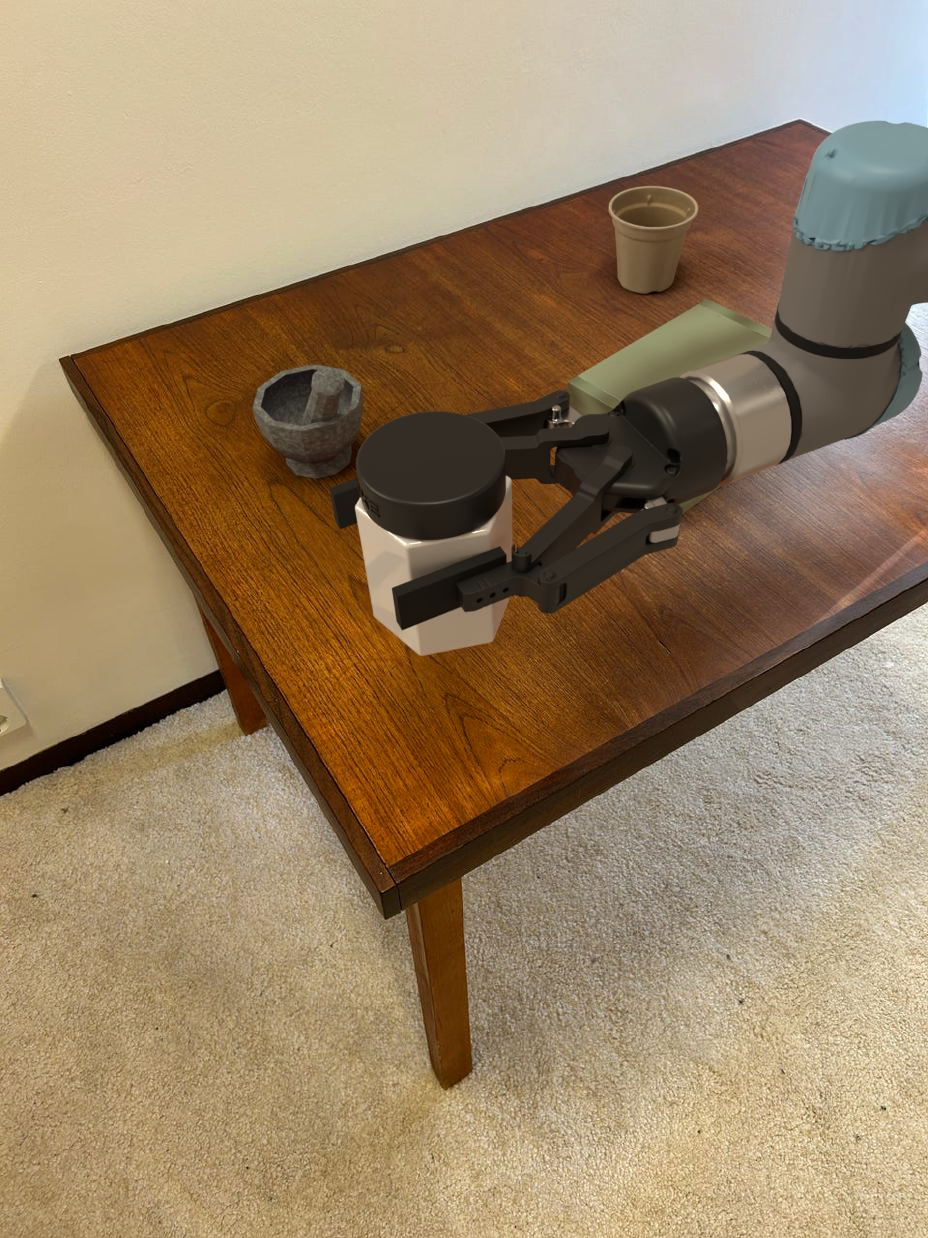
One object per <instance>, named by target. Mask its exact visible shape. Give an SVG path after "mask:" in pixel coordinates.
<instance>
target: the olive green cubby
mask: <svg viewBox="0 0 928 1238" xmlns="http://www.w3.org/2000/svg"><path fill="white" fill-rule="evenodd" d="M771 332H772V328H770V327H768V326H766V325H763V324H761V323H759V322H757V321H755V320H753V319H751V318H749V317H747V316H745V315H742V314H740V313H738V312H736V311H734V310H732V309H729V308H728V307H725V306H723V305H722V304H719V303H718V302H715V301H713V300H711V299H708V298H706V299H704V300H702V301H700V302H699V303H698V304H695V306H692V307H691V308H689V309H687V310H686V311H684V312H682V313H681V314H679V315H678V316H675V317H674V318H672V319H671V320H669V321H666V323H664V324H662V325H660V326H659V327H657V328H655V329H653V330H652V331H651V332H649V333H647V334H646V335H643V336H642V337H640V338H638V339H637V340H635V341H634V342H631V343H630V344H629V345H626V346H625V347H623V348H621V349H620V350H618V351H617V352H614V353H613V354H612V355H610V356H608V357H607V358H605V359H603V360H602V361H600V362H598V363H596V364H594V365H592V366H591V367H589V368H588V369H586V370H585V371H583V372H581V373H580V374H578V375H576V376H574V377H572V378H571V379H569V380H568V381H567V388H566V389H567V390H566V392H568V393H569V394H570V406H571V407H572V408H573V409H575V410H576V411H577V412H579V413H580V414H581V415H587V414H602V413H608V412H610V411H612V410H613V409H614V408H615V407H616V406H617V405H618V404H619V403H620V402H621V401H622V400H623V399H624V397H625V396H627V395H628V394H629V393H631V392H633V391H636V390H639V389H642V388H644V387H647V386H650V385H653V384H656V383H659V382H661V381H664V380H667V379H670V378H674V377H680V376H681V375H682V374H684V373H686V372H688V371H690V370H693V369H697V368H700V367H703V366H706V365H709V364H712V363H715V362H718V361H721V360H724V359H727V358H730V357H733V356H735V355H738V354H741V353H744V352H746V351H749V350H751V349H754V348H756V347H759V346H761V345H764V344H766V343H768V341H769V340H770V336H771ZM721 487H722V486H717V487H716V488H715V489H714V490H713V491H711V492H709V493H706V494H704V495H701V496H698V497H696V498H693V499H691V500H688V501H686V502H683V503H681V504H678V505H679V506H681V507H682V510H683V512H682V515H683V514H685V513H686V512H688V511H690V509H692V508H694V507H695V506H696V505H697V504H699V503H700V502H702V501H704V499H706V498H707V497H708V496H710V495H711V494H713V493H714V492H716V491H717V490H719V488H721Z"/></svg>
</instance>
